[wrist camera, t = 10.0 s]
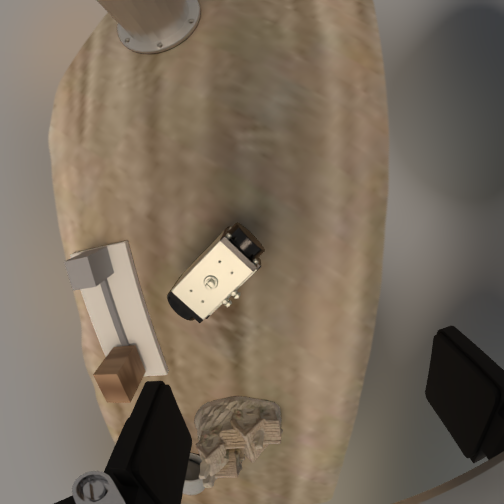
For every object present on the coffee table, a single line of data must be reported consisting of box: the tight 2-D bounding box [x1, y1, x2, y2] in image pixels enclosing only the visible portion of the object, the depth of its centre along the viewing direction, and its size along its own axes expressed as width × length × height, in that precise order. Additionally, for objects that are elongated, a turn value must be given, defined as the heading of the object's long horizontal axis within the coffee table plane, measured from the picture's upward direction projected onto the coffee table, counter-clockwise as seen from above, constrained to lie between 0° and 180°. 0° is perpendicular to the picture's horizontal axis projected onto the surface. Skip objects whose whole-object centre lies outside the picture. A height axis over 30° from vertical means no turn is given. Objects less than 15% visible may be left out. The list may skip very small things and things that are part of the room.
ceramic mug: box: [183, 453, 217, 495], centre depth 49 cm, size 11×8×8 cm
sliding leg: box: [93, 345, 146, 403], centre depth 40 cm, size 5×7×8 cm
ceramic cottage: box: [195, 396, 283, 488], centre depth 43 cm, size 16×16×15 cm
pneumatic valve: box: [167, 223, 265, 323], centre depth 36 cm, size 6×12×12 cm, turn 135°
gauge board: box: [64, 241, 169, 376], centre depth 41 cm, size 22×10×7 cm, turn 10°
